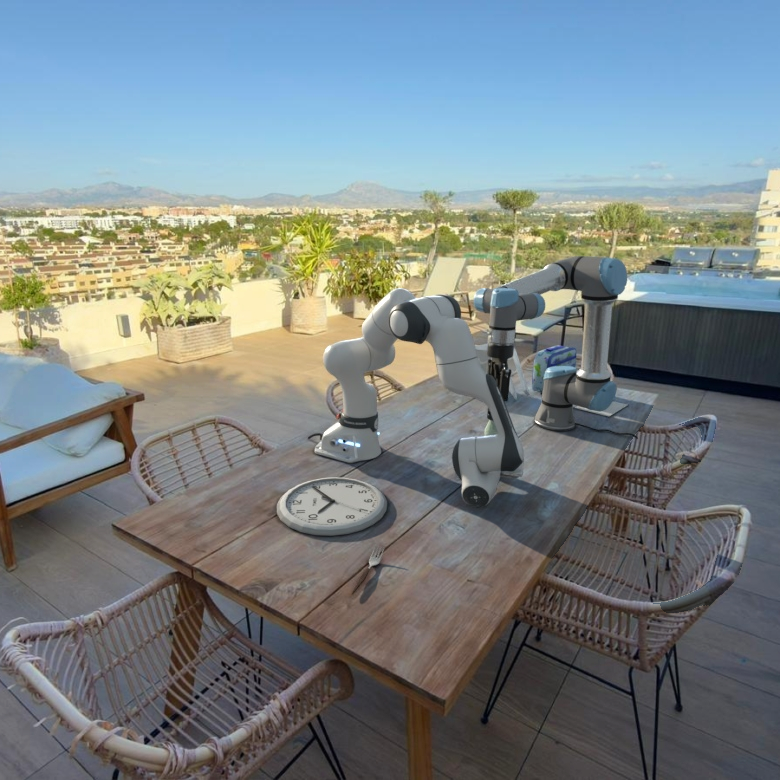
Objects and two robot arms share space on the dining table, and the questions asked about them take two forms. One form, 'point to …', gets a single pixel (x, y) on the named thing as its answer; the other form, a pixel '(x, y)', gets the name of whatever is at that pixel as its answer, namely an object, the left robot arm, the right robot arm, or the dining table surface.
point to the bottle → (490, 428)
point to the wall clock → (331, 506)
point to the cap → (489, 416)
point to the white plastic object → (483, 362)
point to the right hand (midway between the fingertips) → (494, 418)
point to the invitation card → (609, 411)
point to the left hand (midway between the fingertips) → (492, 453)
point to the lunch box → (551, 363)
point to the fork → (372, 562)
